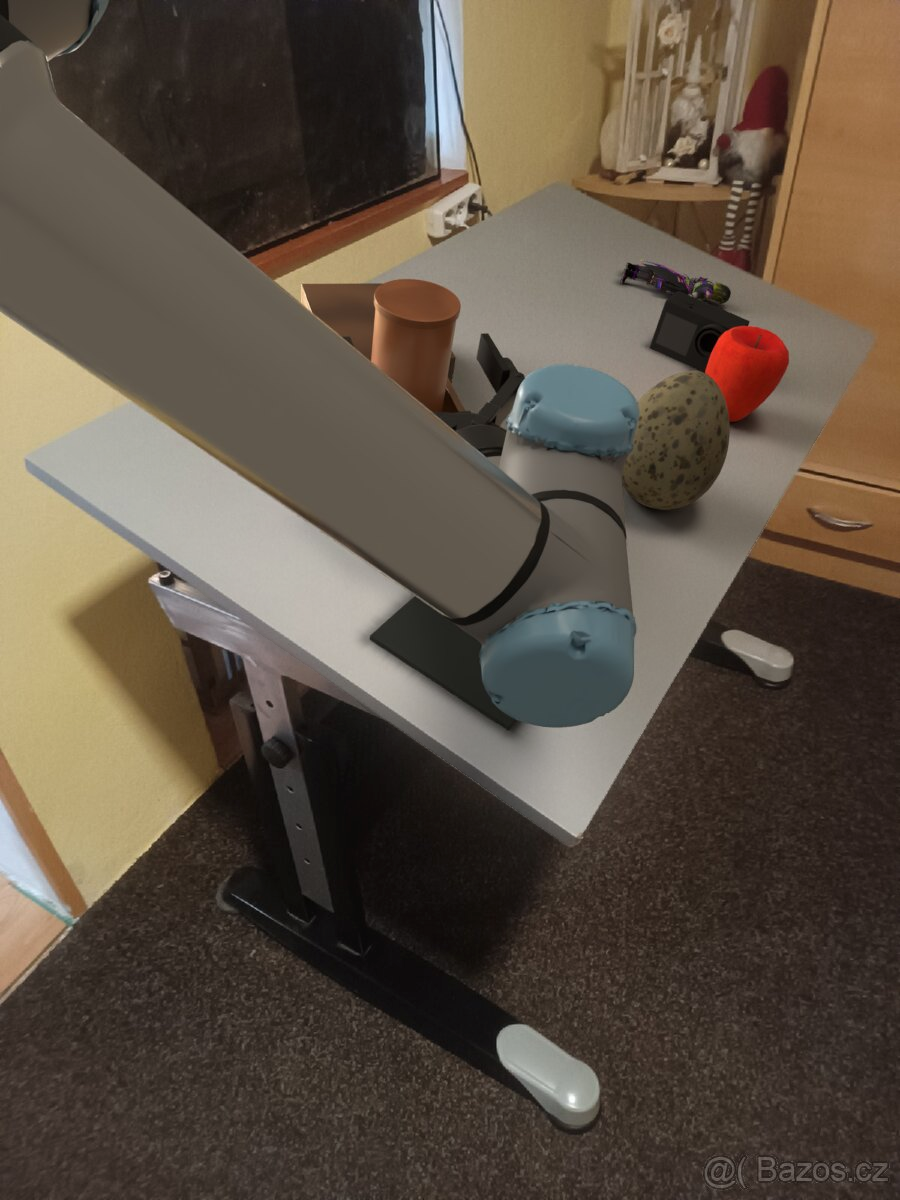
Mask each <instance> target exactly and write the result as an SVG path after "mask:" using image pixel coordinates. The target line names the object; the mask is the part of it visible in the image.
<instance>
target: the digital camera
mask: <svg viewBox="0 0 900 1200" xmlns="http://www.w3.org/2000/svg"><path fill="white" fill-rule="evenodd" d="M749 324H750V320H749V319H747V318H743V317H742V316H739V315H737V314H735V313H732V312H730V311H728V310H725V309H723V308H721V307H718V306H715V305H713V304H711V303H709V302H707V301H704V300H703V301H701V300H699V299H697V298H694V297H692V296H689V295H687V294H684V293H682V292H680V291H677V292H676V293H675V294H671V296H670V297H668V298H666V300H665V302H664V305H663V307H662V310H661V313H660V316H659V319H658V322H657V324H656V328H655V331H654V333H653V336H652V339H651V342H650V345H649V349H651V350H653V351H655V352H657V353H660V354H662V355H664V356H666V357H668V358H670V359H672V360H675V361H678V362H680V363H682V364H684V365H686V366H688V367H691V368H693V369H695V370H696V371H700V372H703V373H705V371H706V368H707V364H708V361H709V358H710V355H711V353H712V351H713V349H714V347H715V345H716V343H717V341H718V339H719V338H720V336H721V335H722V334H723V333H724V332H726V331H728V330H730V329H732V328H734V327H739V326H750V325H749Z"/></svg>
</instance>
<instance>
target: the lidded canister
mask: <svg viewBox="0 0 900 1200" xmlns="http://www.w3.org/2000/svg"><path fill="white" fill-rule="evenodd" d="M383 283H384V284H382V285H380V286H379V287H378V288H377V289H376V291H375V294H374V306H375V320H374V332H373V344H372V357H371V362H372V363H374V364H375V365H376V366H377V367H378V368H380V369H381V370H382V371H383V372H384V373H386V374H387V375H388V376H389V377H390V378H392V379H393V380H394V381H395V382H396V383H398V384H399V385H400V386H401V387H402V388H404V389H405V390H406V391H407V392H408V393H410V394H411V395H412V396H413V397H414V398H416V399H417V400H418V401H419V402H420V403H422V404H423V405H424V406H425V407H426V408H428V409H429V410H430V411H432V412H434V413H436V412H442V408H443V402H444V396H445V389H446V383H447V377H448V370H449V364H450V358H451V351H452V352H453V345H454V338H455V332H456V325H457V320H458V319H459V317H460V315H461V314H460V313H461V307H462V305H461V304H462V303H461V301H460V299H459V297H458V296H457V295H456V294H455V293H454V292H453V291H452V290H450V289H448V288H447V287H445V286H443V285H440V284H437V283H435V282H431V281H427V280H424V279H418V278H417V279H416V278H398V279H392V280H389V281H385V282H383Z"/></svg>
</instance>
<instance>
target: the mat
mask: <svg viewBox="0 0 900 1200" xmlns="http://www.w3.org/2000/svg"><path fill="white" fill-rule="evenodd" d="M369 640H370V641H371V642H373V643H375V644H376V645H378V646H380V647H381V648H382V649H384V650H385V651H387V652H388V653H390V654H391V655H393V656H395V657H396V658H398V659H399V660H400V661H402V662H403V663H404V664H406V665H408V666H409V667H411V668H412V669H414V670H415V671H417V672H418V673H420V674H421V675H423V676H425V677H426V678H427V679H429V680H430V681H432V682H434V683H435V684H436V685H438V686H440V687H441V688H443V689H444V690H446V691H447V692H449V693H450V694H452V695H453V696H454V697H456V698H457V699H459V700H461V701H462V702H464V703H465V704H466V705H468V706H469V707H471V708H472V709H474V710H476V711H477V712H479V713H481V715H484V716H485V717H487V718H488V719H489V720H490V721H492V722H494V723H496V724H497V725H498V726H500V727H502V728H503V729H505V730H506V731H509V730H510V728H511V727H512V726H513V725H514V723H516V721H517V720H516V719H514V718H512V717H510V716H509V715H507V714H505V713H504V712H502V711H501V710H500V709H499V708H497V707H496V705H495V704H494V703H493V702H492V699H491V697H490V696H489V695H488V693H487V691H486V690H485V687H484V684H483V681H482V670H481V665H480V658H479V653H480V650H481V647H482V644H481V643H480V642H479V641H478V640H477V639H475V638H474V637H472V636H471V635H469V634H468V633H466V632H465V631H463V630H462V629H461V628H459V627H458V626H457V625H455V624H454V623H453V622H452V621H450V620H449V619H447V618H446V617H444V616H443V615H442V614H440V613H439V612H437V611H436V610H435V609H433V608H432V607H430V606H429V605H427V604H426V603H424V602H423V601H421V600H420V599H418V598H417V597H416V596H414V595H413V597H412V598H410V599H409V600H408V601H407V602H406V603H405V604H404V605H403V606H401V607H400V608H399V609H398V610H397V611H396V612H395V613H394V614H392V615H391V616H390V617H389V618H388V619H387V620H386V621H385V622H384V623H382V624H381V625H380V626H378V628H377V629H376V630H374V631H373V632H372V633H371V634H370V635H369Z"/></svg>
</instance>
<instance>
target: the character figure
mask: <svg viewBox="0 0 900 1200" xmlns="http://www.w3.org/2000/svg"><path fill="white" fill-rule="evenodd" d="M643 262H645V263H643ZM648 263H649V264H648ZM621 275H622V276H621V277H620V285H624V284H625V282H626V281H627V279H629V280H633V281H636V279H637V280H642V281H645V282H647V283H646V285H652V286H653V287H654V289H656V290H657V291H662V292H665V293H669V294H670V295H673V294H675V293H676V292H677V291H680V292H682V293H684V294H687V295H689V296H692V297H694V298H697V299H699V300H701V301H704V300H706V299H707V300H708V301H714V302H716V303H718V304H719V305H723V304H725V303H727V302H728V301H729V300H730V298H731V295H732V290H731V288H730V287H729V286H727V285H725V284H724V283H721V282H716V281H715V282H714V283H713V281H711V280H709V278H708V277H702V276H699V278H698V277H692V278H690V277H689V275H687V274H685V273H684V274H681V273H680V272H677V271H675V270H674V269H672V268H669V267H667V266H665V265H663V264H660V263H657V262H651V261H648V260H644V259H640V262H639V264H633V263H631V262H629V261H628V262H626V265H625V268H623V272H622V274H621Z"/></svg>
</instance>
